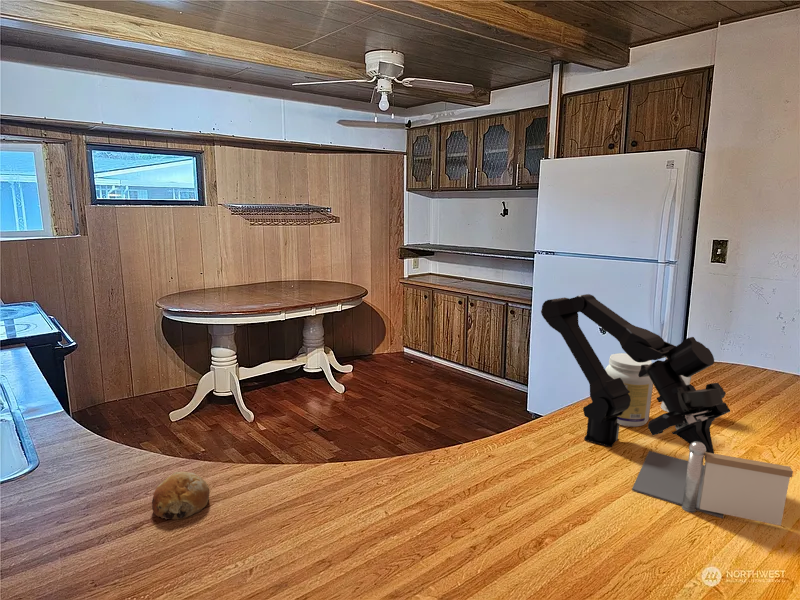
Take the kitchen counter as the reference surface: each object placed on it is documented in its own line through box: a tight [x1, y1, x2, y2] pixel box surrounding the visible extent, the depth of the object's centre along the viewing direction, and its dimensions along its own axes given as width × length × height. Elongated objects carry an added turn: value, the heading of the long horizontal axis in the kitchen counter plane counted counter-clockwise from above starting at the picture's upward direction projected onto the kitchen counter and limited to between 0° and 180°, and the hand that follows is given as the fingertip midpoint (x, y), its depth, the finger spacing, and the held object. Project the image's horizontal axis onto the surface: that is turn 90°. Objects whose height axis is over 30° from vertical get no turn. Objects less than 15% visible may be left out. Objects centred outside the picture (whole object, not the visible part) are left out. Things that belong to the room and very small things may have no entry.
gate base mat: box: [631, 450, 725, 519], centre depth 110 cm, size 16×20×1 cm
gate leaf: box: [699, 452, 794, 526], centre depth 96 cm, size 13×2×11 cm, turn 69°
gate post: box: [681, 441, 706, 514], centre depth 99 cm, size 3×3×14 cm
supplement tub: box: [604, 352, 654, 428], centre depth 140 cm, size 12×12×17 cm
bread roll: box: [151, 471, 211, 520], centre depth 98 cm, size 10×10×8 cm
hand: (711, 457), depth 105 cm, fingers closed
